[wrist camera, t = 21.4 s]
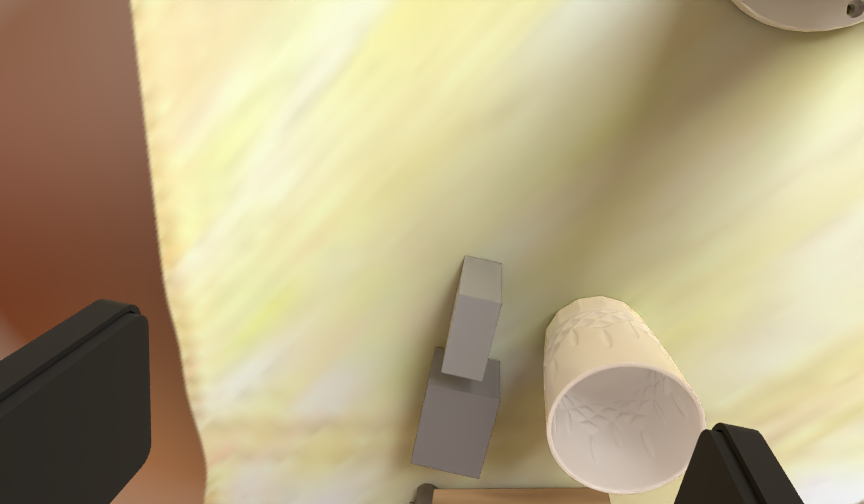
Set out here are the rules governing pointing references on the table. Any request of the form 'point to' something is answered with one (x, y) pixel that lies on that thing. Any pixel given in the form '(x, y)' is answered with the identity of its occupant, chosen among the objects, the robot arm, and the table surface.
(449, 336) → the block
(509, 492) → the door
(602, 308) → the white cup
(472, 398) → the grey rectangular block
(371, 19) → the table surface
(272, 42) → the table surface
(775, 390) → the table surface
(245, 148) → the table surface
